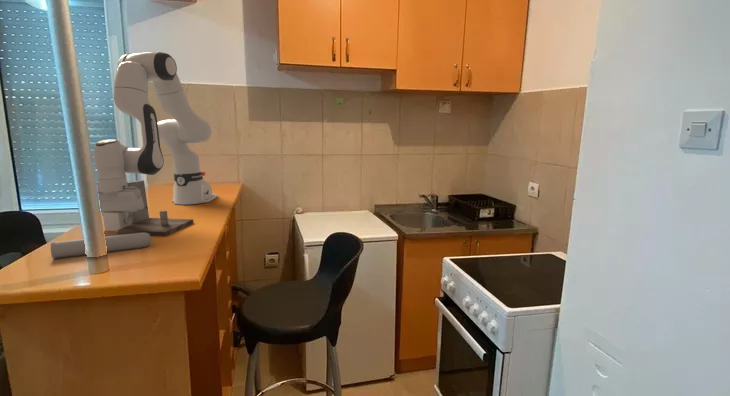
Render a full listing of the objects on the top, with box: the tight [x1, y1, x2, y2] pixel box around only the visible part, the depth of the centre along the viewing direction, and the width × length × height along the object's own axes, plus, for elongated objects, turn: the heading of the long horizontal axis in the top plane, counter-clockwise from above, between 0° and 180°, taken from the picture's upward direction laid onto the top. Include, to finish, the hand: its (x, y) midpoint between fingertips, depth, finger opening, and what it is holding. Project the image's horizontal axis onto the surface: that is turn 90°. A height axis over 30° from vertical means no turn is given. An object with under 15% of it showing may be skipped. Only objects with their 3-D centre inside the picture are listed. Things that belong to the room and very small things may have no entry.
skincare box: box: [127, 179, 150, 224], centre depth 153 cm, size 8×7×16 cm
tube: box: [50, 232, 152, 260], centre depth 119 cm, size 5×5×25 cm
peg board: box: [116, 210, 194, 237], centre depth 143 cm, size 17×18×6 cm
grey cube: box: [102, 211, 133, 232], centre depth 143 cm, size 6×6×6 cm
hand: (118, 222), depth 143 cm, fingers closed on grey cube, 6 cm apart
